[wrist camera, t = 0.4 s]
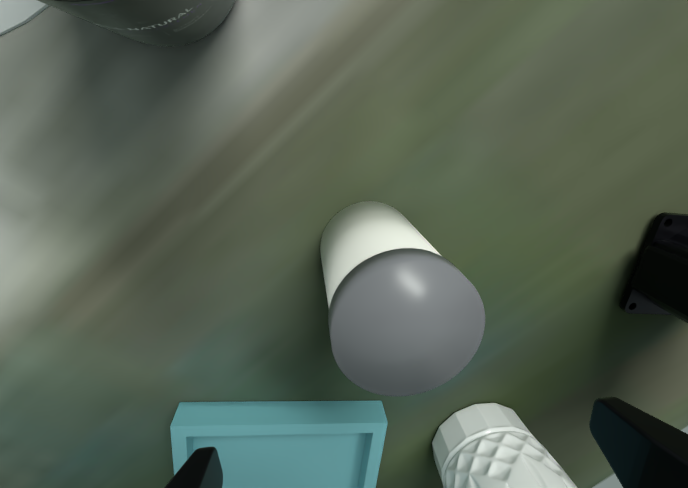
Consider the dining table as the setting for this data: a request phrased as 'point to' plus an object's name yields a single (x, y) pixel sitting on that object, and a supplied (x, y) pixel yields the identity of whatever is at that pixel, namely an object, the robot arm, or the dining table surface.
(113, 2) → the supplement bottle
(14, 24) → the butter knife
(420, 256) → the spice jar
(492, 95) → the dining table surface
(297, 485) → the tray
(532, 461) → the white cup
